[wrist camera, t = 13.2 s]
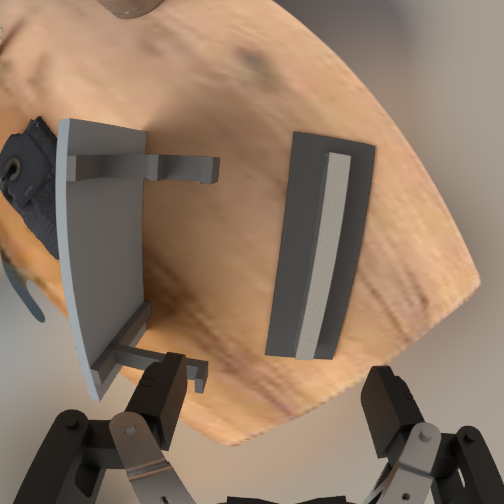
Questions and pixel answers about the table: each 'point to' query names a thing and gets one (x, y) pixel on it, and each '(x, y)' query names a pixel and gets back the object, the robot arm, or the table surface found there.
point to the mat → (301, 238)
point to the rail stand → (111, 243)
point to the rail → (322, 252)
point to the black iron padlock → (32, 180)
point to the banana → (1, 33)
